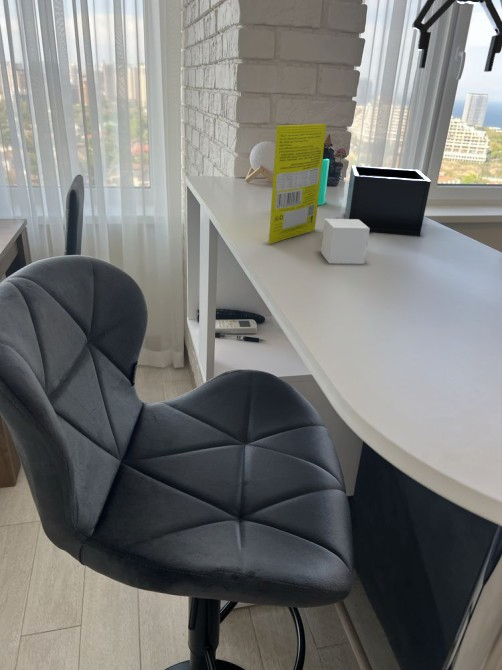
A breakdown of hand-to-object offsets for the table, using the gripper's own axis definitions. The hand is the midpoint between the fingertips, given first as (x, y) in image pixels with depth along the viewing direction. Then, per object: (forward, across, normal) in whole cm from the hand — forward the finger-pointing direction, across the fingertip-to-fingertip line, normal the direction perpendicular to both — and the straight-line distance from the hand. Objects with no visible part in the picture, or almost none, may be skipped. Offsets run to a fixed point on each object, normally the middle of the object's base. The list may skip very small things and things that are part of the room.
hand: (454, 70), depth 107 cm
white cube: (+31, -21, -41) cm, 55 cm away
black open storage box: (+31, -12, -14) cm, 36 cm away
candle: (+31, -27, +4) cm, 41 cm away
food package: (+31, -30, -30) cm, 52 cm away
